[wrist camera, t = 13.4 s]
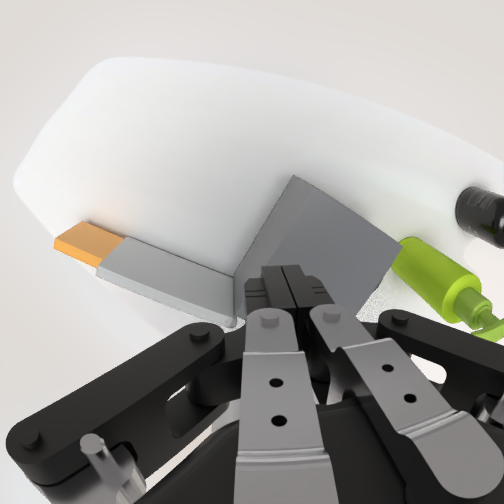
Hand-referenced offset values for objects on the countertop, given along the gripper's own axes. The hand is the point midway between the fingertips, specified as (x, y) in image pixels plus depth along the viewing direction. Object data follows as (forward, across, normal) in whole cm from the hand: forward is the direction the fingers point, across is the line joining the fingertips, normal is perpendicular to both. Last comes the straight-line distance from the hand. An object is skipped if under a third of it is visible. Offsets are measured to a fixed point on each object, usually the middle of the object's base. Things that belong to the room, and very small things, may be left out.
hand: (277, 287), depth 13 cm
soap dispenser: (+25, -22, +9) cm, 34 cm away
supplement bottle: (+25, -33, +2) cm, 41 cm away
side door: (+25, +11, +7) cm, 28 cm away
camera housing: (+25, -6, +7) cm, 27 cm away
